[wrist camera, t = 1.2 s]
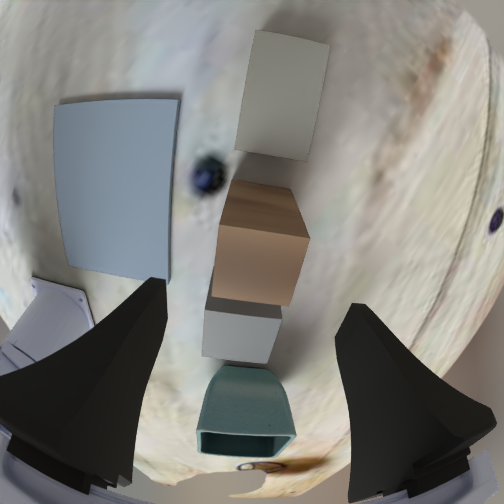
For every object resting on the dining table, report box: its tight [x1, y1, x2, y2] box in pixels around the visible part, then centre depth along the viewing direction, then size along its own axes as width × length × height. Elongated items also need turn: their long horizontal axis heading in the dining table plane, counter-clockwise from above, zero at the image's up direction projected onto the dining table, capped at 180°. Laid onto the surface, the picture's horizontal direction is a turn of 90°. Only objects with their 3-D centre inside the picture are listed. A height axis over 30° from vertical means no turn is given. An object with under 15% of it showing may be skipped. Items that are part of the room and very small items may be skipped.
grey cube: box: [202, 267, 282, 364], centre depth 20 cm, size 5×5×5 cm
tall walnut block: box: [212, 180, 310, 306], centre depth 16 cm, size 4×4×7 cm
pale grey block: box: [234, 30, 330, 162], centre depth 14 cm, size 7×4×3 cm, turn 171°
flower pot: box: [196, 366, 296, 458], centre depth 25 cm, size 9×9×9 cm
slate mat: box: [53, 99, 180, 285], centre depth 18 cm, size 14×10×1 cm
